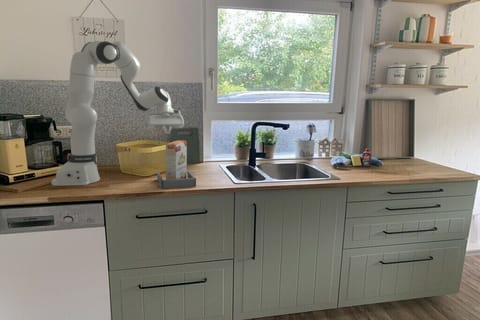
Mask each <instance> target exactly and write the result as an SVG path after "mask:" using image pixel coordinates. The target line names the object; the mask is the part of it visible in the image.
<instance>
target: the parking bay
mask: <svg viewBox="0 0 480 320" xmlns="http://www.w3.org/2000/svg"><path fill="white" fill-rule="evenodd" d="M156 174H157V175H156V176H157V177H156V179H157V182H158V184H159V186H160V188H161V189H163V190H164V189H176V188H189V187H197V178H196V177H195V175H194V174H193V173H192V172H191V171H190V170H186V179H173V180H166V179H163V177H162V174H161V173H160V172H159V171H158V172H157V173H156Z"/></svg>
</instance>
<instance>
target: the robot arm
mask: <svg viewBox="0 0 480 320" xmlns="http://www.w3.org/2000/svg"><path fill="white" fill-rule="evenodd" d="M110 64H114V65H115V66H116V67H117V68H118V70H119V72H120V81H121V83H122V84H123V86H124V88H125V89H126V91H127V92H128V94H129V96H131V99H132V100H133V102H134V104H135V106H136V108H137V109H138V110H140V111H142V112H147V111H148V110H150V109H151V108H153V107H155V106H156V108H157V110H156V112H157V113H150V114H148V115H147V119H148V127H149V128H150V129H162V130H163V131H164V134H171V130H172V129H183V128H184V127H185V119H184V117H183V116H182V114H181V110H178V109H174V108H172V106H173V105H172V99H171V96H170V94H169V93H168V91H167V90H165V89H164V88H162V87H161V86H157V85H155V86H154V87H152V88H150V89H148V90H146V91H145V92H144V91H143V92H141V93H140V92H139V91H138V89H137V87H136V86H135V84H134V83H133V81H134V80H135V79H136V77H137V76H138V74H139V73H140V70H141V63H140V60H139V59H138V58H137V56H136V55H135V54H134V53H133V51H132V50H131V49H130V48H129V47H128V46H127V45H125V44H124V43H123V42H122V41H113V42H110V41H104V40H103V41H100V40H96V41H90V42H89V41H88V42H87V43H85V44H84V45H83V47H82V49H81V50H80V51H77V52H75V53H73V55H72V58H71V60H70V66H69V67H70V68H69V84H68V85H69V86H68V95H67V96H68V97H67V100H66V106H65V115H64V116H65V119H66V120H67V121H68V122H69V123H71V132H70V133H71V134H70V150H71V153H67V155H66V157H67V158H66V159H67V162H65V163H64V164H63V165H61V166H60V167H59V168H58V169H57V170H56V174H55V178H53V179H52V180H51V183H50V184H51V185H52V186H54V187H55V186H56V187H57V186H59V187H60V186H67V187H68V186H87V185H89V184H93V183H97V182H99V181H100V180H101V177H100V174H99V170H98V165H97V164H98V157H97V153H96V144H95V143H96V142H95V136H96V127H97V126H96V125H97V121H98V113H97V112H96V110H95V109H94V108H93V107H92V106H91V103H92V100H93V97H94V94H95V79H96V78H95V74H96V73H95V70H96V68H97V65H110Z"/></svg>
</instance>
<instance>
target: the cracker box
mask: <svg viewBox="0 0 480 320" xmlns="http://www.w3.org/2000/svg"><path fill="white" fill-rule="evenodd" d="M187 145H188V141H187V140H175V141H171V142H169V143H165V180H173V179H187V164H188V163H187V158H188V157H187V156H188V155H187V153H188V151H187V149H188V148H187Z"/></svg>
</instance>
